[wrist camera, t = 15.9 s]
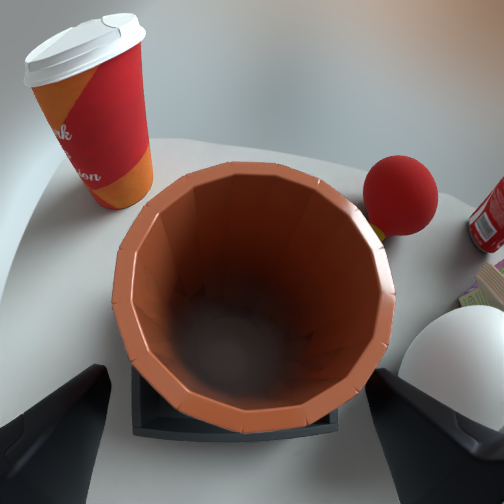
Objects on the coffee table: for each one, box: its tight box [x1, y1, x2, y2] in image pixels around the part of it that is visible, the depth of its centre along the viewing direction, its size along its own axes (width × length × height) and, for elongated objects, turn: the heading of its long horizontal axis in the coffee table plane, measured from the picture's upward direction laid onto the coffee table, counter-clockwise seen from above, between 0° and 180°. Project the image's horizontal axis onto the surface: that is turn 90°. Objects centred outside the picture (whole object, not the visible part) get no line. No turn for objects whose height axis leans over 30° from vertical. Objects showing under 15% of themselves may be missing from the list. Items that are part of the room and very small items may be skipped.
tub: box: [131, 365, 338, 442], centre depth 15 cm, size 10×10×5 cm
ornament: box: [398, 305, 504, 431], centre depth 12 cm, size 10×10×12 cm
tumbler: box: [111, 162, 396, 434], centre depth 11 cm, size 5×5×14 cm
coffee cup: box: [23, 13, 153, 209], centre depth 16 cm, size 8×8×15 cm
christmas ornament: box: [363, 155, 438, 243], centre depth 21 cm, size 7×7×10 cm
